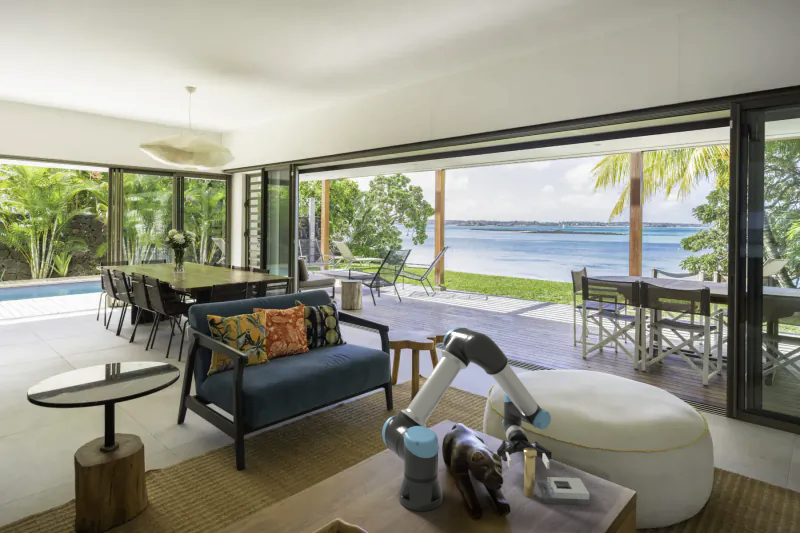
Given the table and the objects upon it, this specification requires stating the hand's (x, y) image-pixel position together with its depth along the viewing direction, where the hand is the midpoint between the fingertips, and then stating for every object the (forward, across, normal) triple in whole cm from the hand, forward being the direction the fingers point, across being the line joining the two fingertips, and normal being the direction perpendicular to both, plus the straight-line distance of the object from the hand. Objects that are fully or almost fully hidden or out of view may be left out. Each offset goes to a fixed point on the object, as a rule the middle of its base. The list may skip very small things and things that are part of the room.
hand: (529, 464), depth 165 cm
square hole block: (+4, -11, -9) cm, 14 cm away
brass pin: (+4, +1, -9) cm, 10 cm away
